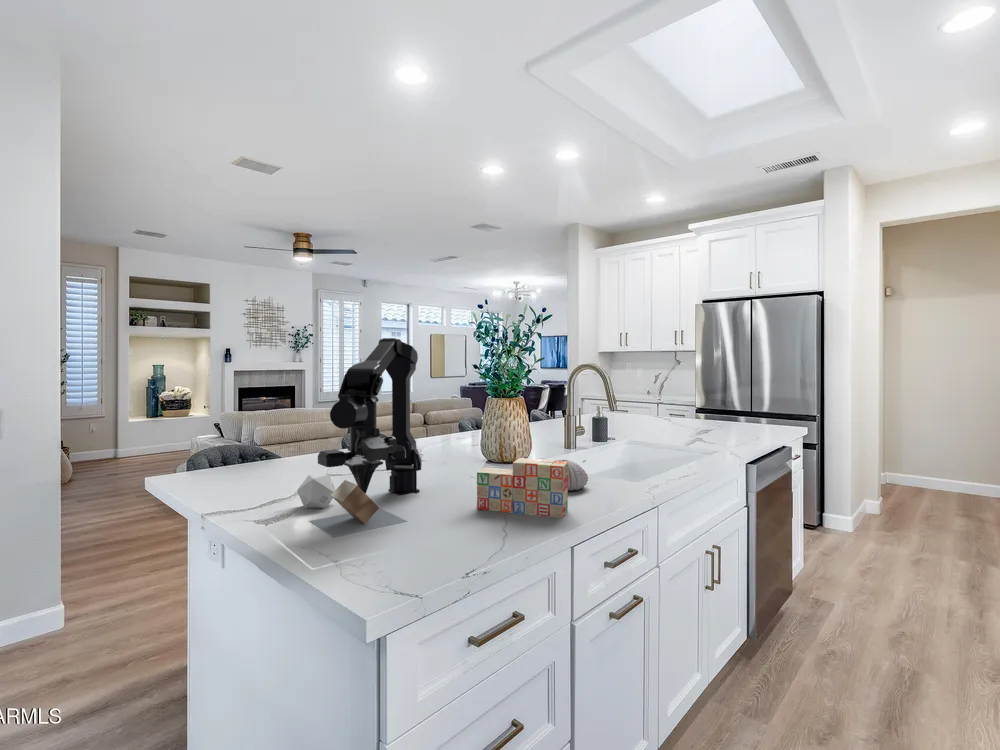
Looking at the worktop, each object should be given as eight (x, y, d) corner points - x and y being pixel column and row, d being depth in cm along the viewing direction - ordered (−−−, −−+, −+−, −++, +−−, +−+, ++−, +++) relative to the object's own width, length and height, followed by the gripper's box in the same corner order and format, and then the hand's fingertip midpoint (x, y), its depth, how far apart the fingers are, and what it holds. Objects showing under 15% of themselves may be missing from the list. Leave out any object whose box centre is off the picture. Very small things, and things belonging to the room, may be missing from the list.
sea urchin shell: (534, 491, 147) (534, 462, 147) (547, 481, 160) (547, 454, 160) (582, 495, 143) (582, 466, 142) (591, 484, 155) (591, 457, 155)
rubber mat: (378, 508, 129) (378, 507, 129) (407, 522, 118) (407, 521, 118) (308, 522, 118) (308, 520, 118) (333, 538, 107) (333, 537, 107)
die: (313, 517, 124) (338, 481, 127) (284, 497, 126) (310, 462, 129) (324, 519, 132) (347, 486, 135) (296, 501, 134) (320, 468, 136)
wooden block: (367, 502, 123) (345, 479, 119) (379, 507, 118) (356, 484, 114) (353, 517, 121) (330, 495, 117) (365, 524, 116) (341, 501, 112)
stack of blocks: (476, 510, 129) (476, 459, 128) (485, 503, 135) (485, 455, 134) (563, 518, 122) (563, 465, 122) (568, 511, 128) (568, 460, 128)
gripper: (337, 430, 106) (337, 507, 106) (418, 424, 118) (418, 493, 118) (316, 425, 115) (316, 497, 115) (394, 419, 127) (394, 485, 127)
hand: (363, 493), depth 119 cm, fingers closed
